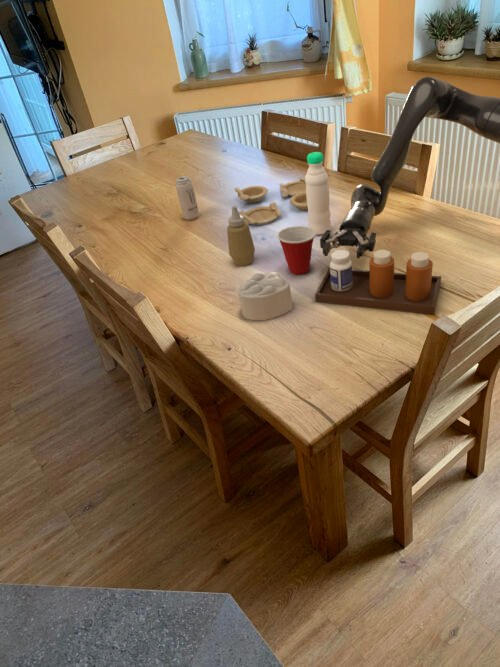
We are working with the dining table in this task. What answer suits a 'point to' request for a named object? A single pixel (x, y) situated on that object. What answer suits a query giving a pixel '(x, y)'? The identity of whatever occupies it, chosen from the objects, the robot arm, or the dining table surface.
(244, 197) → the tableware set
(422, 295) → the amber bottle
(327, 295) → the tray
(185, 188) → the energy drink can
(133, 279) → the dining table surface
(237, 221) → the squeeze bottle
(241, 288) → the lumpy-topped squat cylinder
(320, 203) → the water bottle
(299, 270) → the plastic cup
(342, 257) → the pill bottle
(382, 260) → the amber bottle
